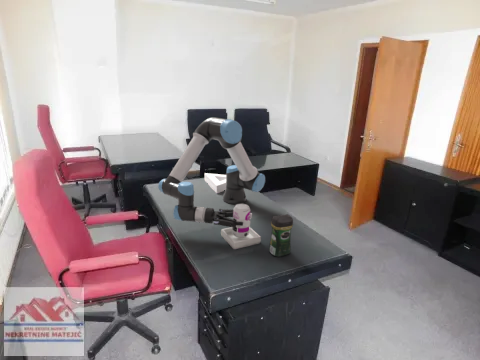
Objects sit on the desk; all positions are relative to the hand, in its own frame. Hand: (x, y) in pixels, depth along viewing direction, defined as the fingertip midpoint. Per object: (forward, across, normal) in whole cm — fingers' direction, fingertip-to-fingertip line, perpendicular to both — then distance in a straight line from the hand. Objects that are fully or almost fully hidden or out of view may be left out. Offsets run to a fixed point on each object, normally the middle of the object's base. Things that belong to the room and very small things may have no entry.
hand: (251, 219), depth 150 cm
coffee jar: (+15, +8, -12) cm, 20 cm away
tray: (-5, 0, -11) cm, 12 cm away
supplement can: (-5, 0, -9) cm, 10 cm away
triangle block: (-29, -73, -12) cm, 79 cm away
